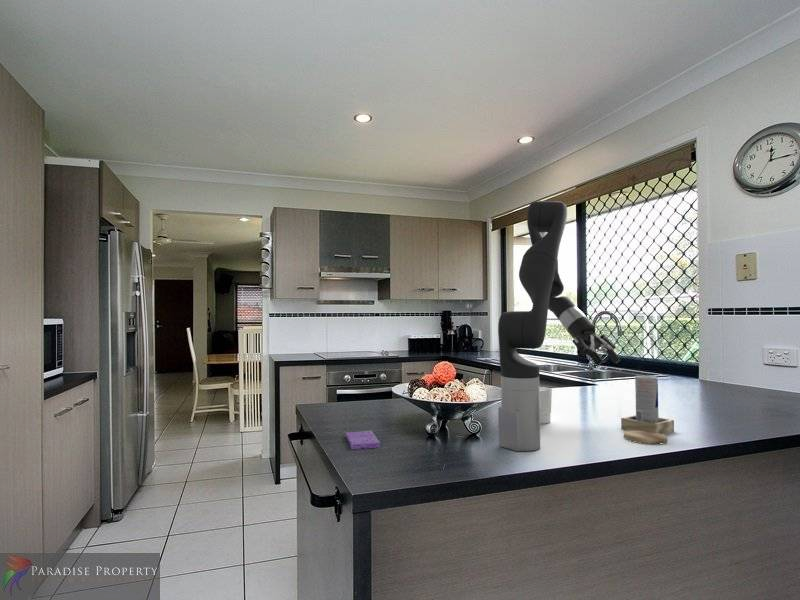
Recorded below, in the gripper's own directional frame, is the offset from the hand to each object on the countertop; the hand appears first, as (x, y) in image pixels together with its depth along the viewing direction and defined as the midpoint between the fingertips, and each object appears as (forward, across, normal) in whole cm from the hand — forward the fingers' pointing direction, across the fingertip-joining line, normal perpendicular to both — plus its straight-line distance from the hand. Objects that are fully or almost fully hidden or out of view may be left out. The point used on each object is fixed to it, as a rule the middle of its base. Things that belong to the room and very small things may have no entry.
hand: (609, 362), depth 141 cm
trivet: (+24, -10, +1) cm, 26 cm away
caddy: (+21, 0, +5) cm, 21 cm away
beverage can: (+21, 0, +5) cm, 21 cm away
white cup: (+4, -17, +22) cm, 28 cm away
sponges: (-2, -73, +28) cm, 78 cm away
